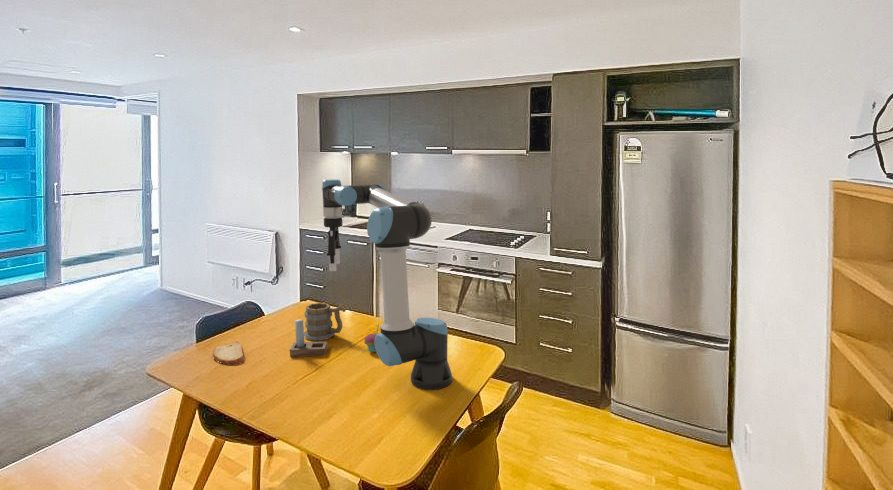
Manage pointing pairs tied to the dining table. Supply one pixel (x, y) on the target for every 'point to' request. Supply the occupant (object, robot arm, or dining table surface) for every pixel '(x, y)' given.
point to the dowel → (299, 333)
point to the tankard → (321, 321)
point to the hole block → (309, 349)
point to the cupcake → (371, 340)
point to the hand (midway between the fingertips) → (334, 267)
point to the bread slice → (229, 353)
